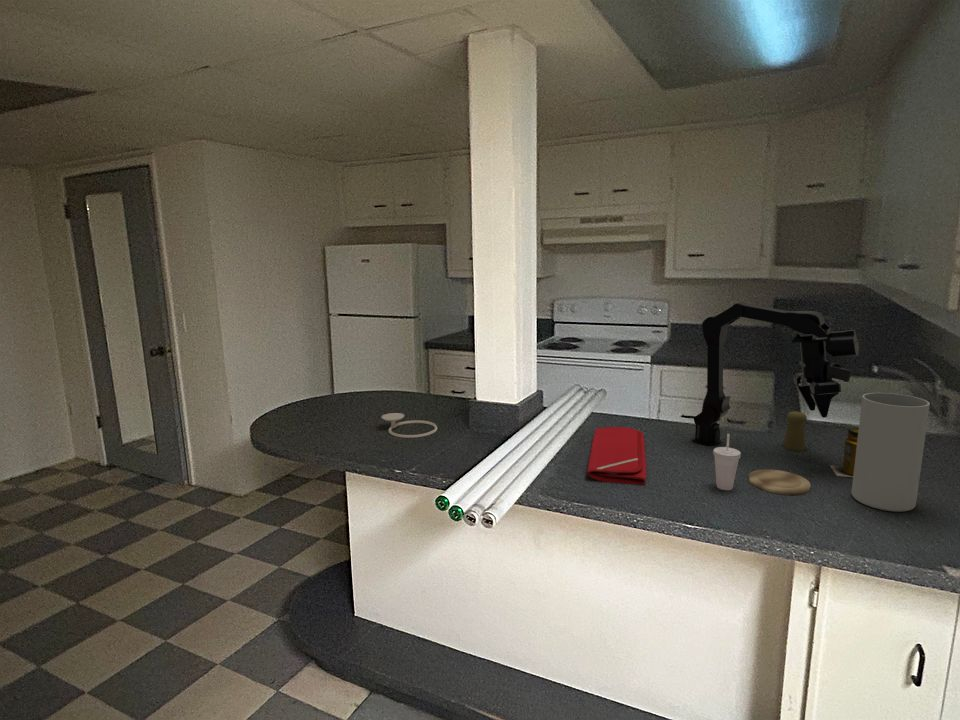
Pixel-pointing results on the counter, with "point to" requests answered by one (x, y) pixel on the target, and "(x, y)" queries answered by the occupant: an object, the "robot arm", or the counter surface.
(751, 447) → the counter surface
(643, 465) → the dish drying mat
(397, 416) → the hand towel holder
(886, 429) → the cylinder vase
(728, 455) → the smoothie
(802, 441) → the cork
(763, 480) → the plate
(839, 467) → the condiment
